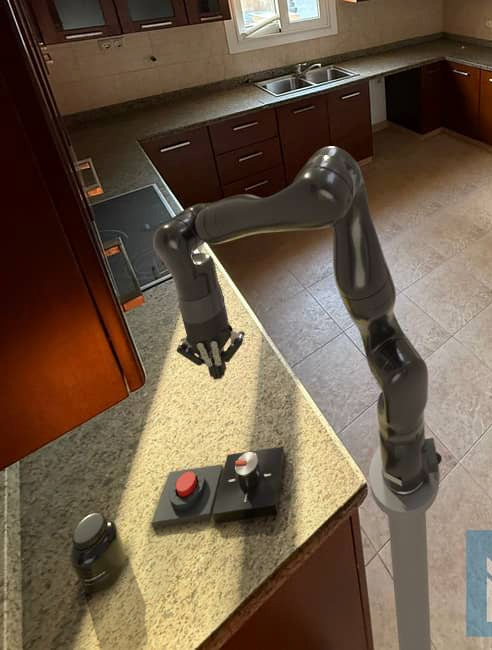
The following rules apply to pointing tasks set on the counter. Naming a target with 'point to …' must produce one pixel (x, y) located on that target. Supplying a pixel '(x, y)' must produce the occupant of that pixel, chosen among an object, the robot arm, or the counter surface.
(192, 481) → the power button
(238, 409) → the counter surface
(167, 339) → the counter surface
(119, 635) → the counter surface
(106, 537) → the supplement bottle
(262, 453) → the stove panel
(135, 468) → the counter surface
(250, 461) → the stove knob
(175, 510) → the button housing
